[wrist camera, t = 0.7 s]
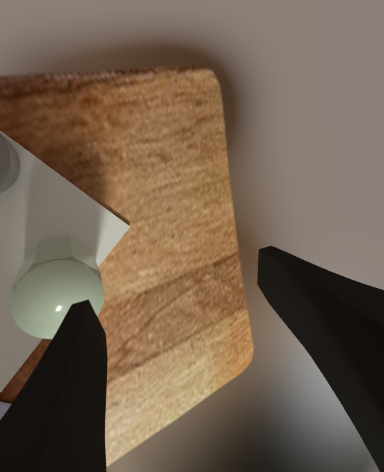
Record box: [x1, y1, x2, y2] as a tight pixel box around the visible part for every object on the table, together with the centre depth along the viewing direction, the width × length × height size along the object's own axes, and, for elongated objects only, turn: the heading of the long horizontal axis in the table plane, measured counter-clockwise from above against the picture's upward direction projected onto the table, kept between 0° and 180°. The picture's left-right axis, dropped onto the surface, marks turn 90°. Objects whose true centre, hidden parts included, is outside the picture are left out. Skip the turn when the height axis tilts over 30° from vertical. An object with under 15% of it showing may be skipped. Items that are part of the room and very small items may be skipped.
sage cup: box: [9, 236, 105, 339], centre depth 20 cm, size 6×6×8 cm
